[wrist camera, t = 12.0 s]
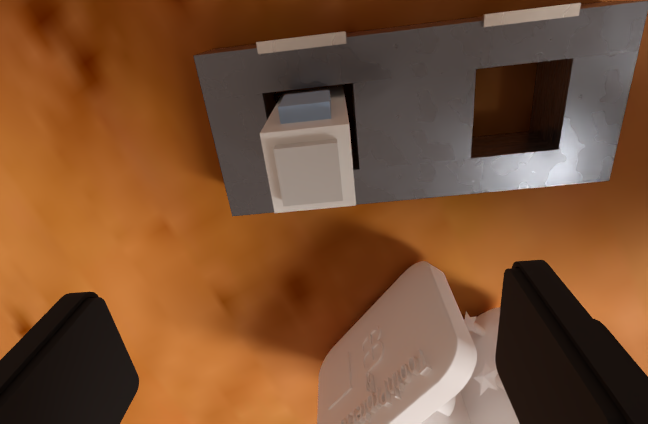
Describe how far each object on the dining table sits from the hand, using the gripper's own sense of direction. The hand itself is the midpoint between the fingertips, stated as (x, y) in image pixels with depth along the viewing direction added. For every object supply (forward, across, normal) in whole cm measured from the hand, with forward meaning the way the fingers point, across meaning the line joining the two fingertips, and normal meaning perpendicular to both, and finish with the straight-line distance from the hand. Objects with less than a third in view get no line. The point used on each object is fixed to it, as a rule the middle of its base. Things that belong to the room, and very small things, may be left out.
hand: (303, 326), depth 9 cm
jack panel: (+20, -5, 0) cm, 21 cm away
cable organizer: (+21, -5, +20) cm, 29 cm away
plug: (+20, +1, 0) cm, 20 cm away
